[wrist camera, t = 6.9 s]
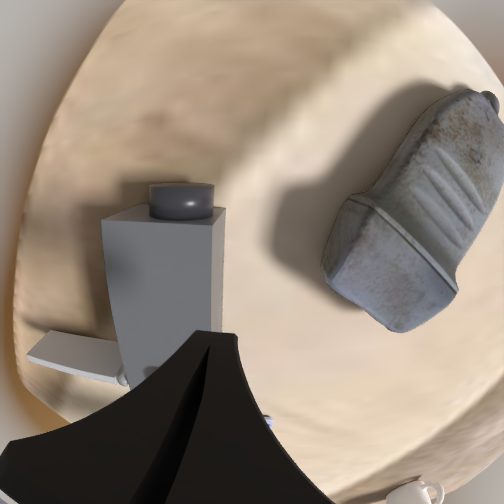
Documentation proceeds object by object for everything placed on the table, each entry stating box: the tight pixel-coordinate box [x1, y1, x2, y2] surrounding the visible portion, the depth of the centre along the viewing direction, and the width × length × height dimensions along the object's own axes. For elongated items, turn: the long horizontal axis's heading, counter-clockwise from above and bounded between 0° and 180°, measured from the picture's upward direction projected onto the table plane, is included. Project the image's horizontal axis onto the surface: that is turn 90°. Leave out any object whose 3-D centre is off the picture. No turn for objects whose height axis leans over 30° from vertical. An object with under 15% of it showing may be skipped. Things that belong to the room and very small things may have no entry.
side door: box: [26, 330, 128, 386], centre depth 19 cm, size 11×1×5 cm, turn 91°
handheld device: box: [321, 90, 504, 333], centre depth 15 cm, size 10×20×5 cm, turn 145°
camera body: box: [101, 182, 226, 390], centre depth 17 cm, size 14×6×6 cm, turn 176°
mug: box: [386, 480, 444, 504], centre depth 28 cm, size 12×8×10 cm
